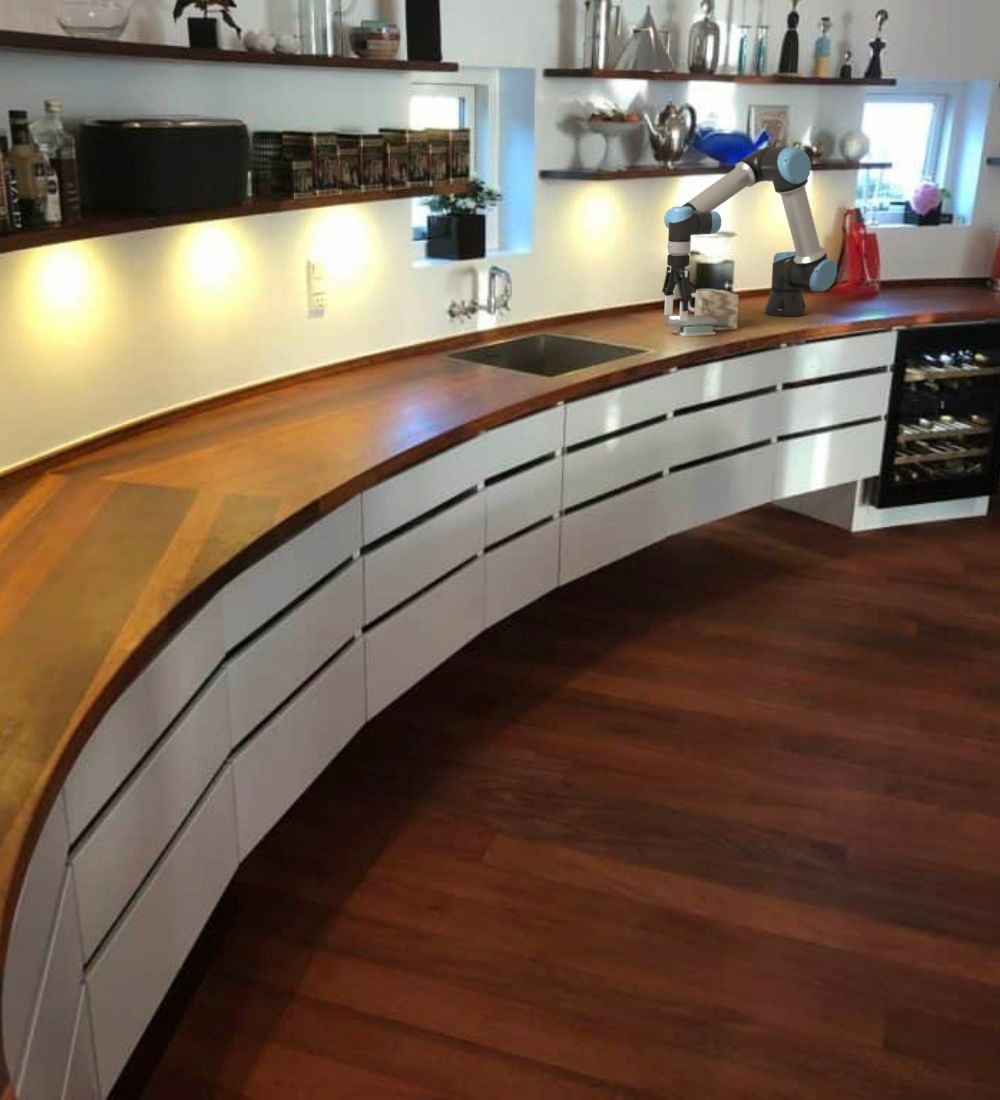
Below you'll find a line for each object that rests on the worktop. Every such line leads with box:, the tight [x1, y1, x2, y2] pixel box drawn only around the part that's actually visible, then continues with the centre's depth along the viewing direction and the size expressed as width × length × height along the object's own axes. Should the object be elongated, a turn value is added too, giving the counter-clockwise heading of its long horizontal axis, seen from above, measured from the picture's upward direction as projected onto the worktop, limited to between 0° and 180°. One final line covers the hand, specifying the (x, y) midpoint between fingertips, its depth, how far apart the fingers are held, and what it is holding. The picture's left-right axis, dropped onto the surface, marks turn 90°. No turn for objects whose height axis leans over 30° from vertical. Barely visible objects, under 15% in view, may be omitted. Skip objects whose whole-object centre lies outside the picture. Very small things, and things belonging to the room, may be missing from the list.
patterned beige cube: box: [697, 289, 740, 331], centre depth 434 cm, size 10×12×12 cm
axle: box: [665, 314, 729, 328], centre depth 422 cm, size 22×4×4 cm, turn 106°
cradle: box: [673, 326, 717, 337], centre depth 423 cm, size 12×8×3 cm, turn 106°
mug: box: [688, 288, 717, 315], centre depth 448 cm, size 12×8×11 cm
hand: (675, 317), depth 419 cm, fingers open, 12 cm apart
